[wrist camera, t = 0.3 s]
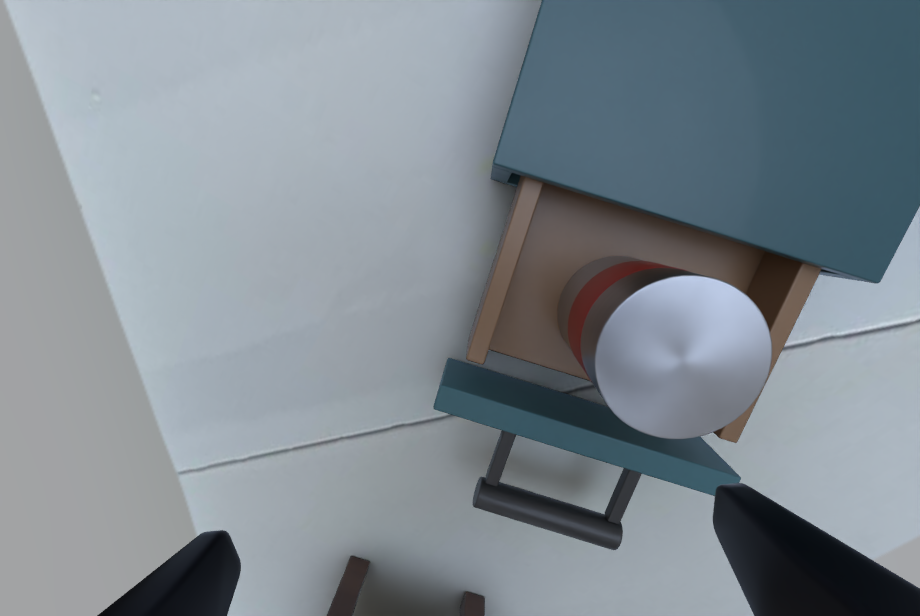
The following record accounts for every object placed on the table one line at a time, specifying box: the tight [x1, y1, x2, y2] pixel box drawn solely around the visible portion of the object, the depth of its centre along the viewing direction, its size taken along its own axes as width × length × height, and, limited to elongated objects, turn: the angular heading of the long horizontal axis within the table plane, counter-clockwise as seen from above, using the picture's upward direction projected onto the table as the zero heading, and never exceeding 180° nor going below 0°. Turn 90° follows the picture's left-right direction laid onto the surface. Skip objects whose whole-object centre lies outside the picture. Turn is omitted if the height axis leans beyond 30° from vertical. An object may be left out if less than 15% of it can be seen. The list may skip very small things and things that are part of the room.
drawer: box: [434, 175, 821, 550], centre depth 19 cm, size 19×13×4 cm
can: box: [558, 256, 772, 439], centre depth 16 cm, size 5×5×7 cm
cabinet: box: [491, 0, 920, 283], centre depth 16 cm, size 16×15×6 cm
